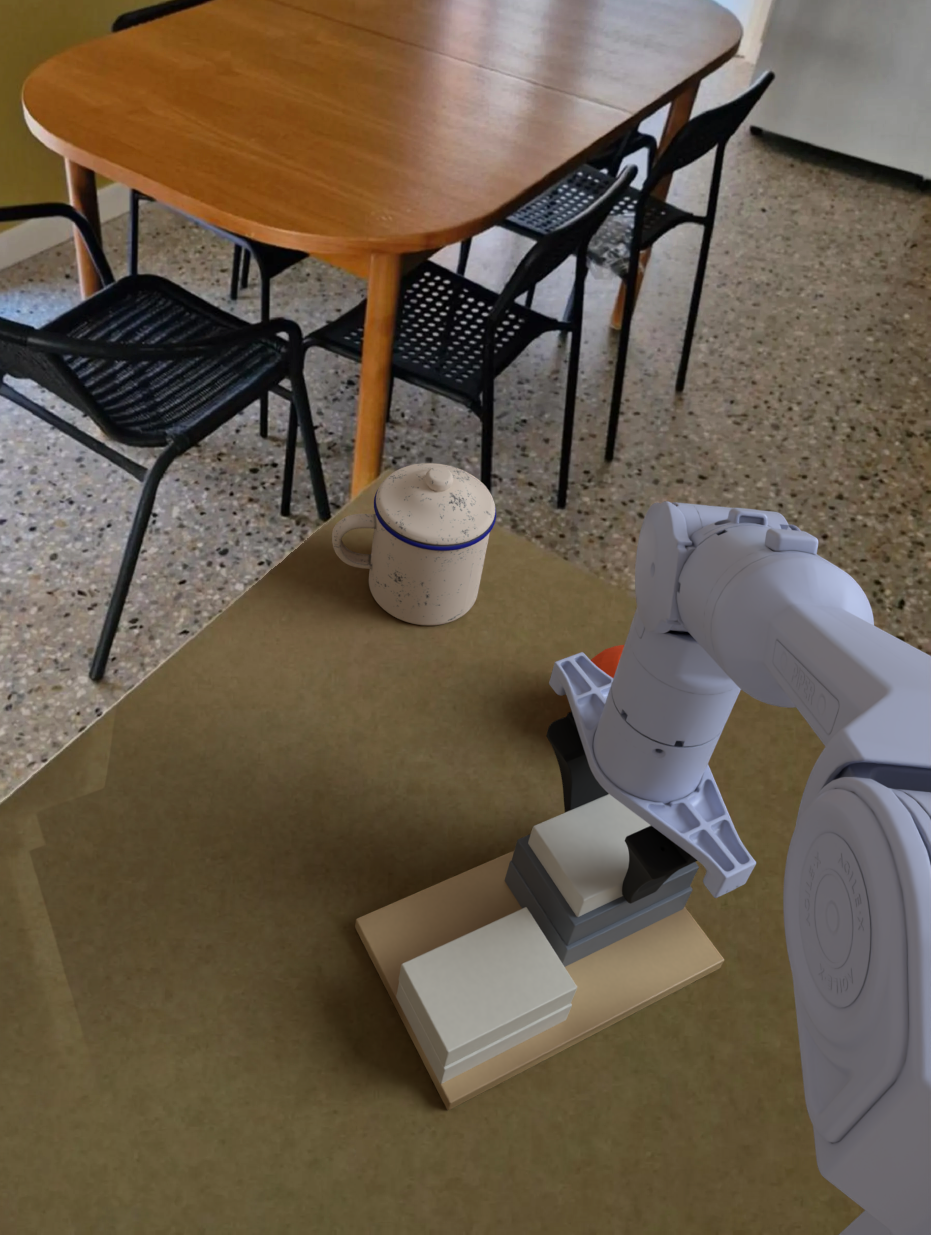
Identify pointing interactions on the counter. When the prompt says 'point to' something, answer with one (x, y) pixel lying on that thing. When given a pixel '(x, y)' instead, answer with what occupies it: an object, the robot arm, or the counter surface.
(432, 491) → the teacup with lid
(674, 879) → the grey books
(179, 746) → the counter surface
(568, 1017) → the shelf board
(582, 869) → the white book
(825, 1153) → the robot arm
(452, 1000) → the white books
